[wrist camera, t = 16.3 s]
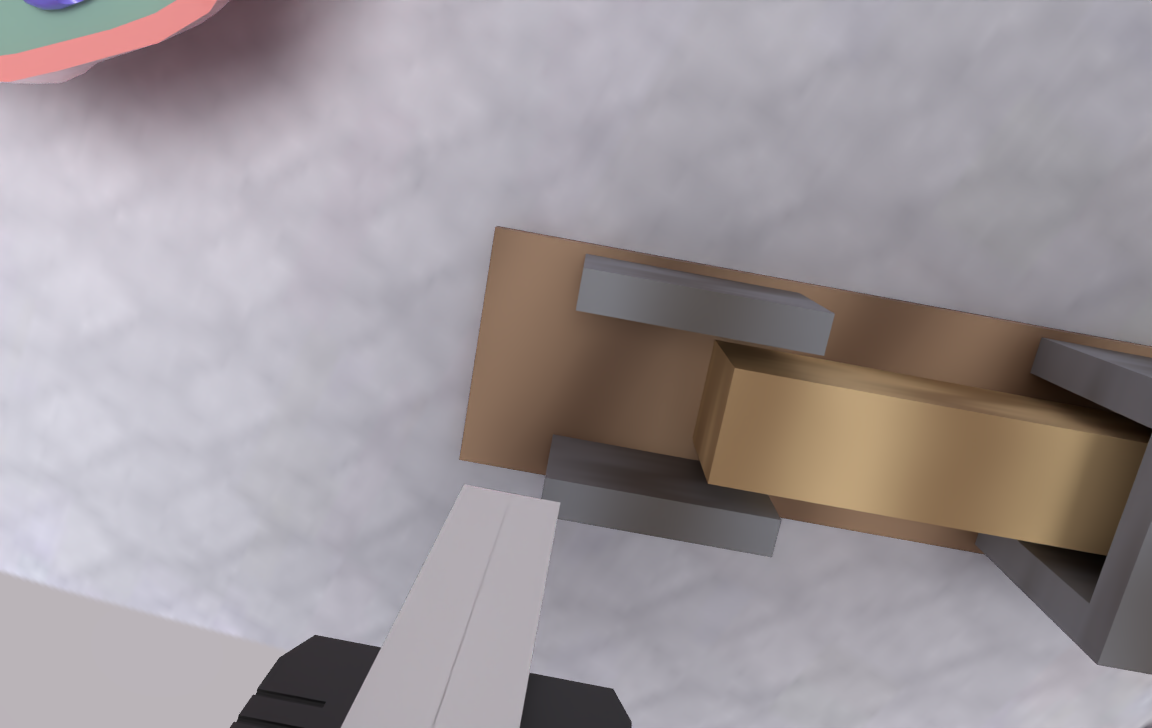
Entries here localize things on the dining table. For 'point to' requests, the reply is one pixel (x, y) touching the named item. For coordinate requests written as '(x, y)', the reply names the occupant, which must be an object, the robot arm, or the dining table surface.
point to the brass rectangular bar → (916, 448)
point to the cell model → (86, 33)
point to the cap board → (787, 324)
